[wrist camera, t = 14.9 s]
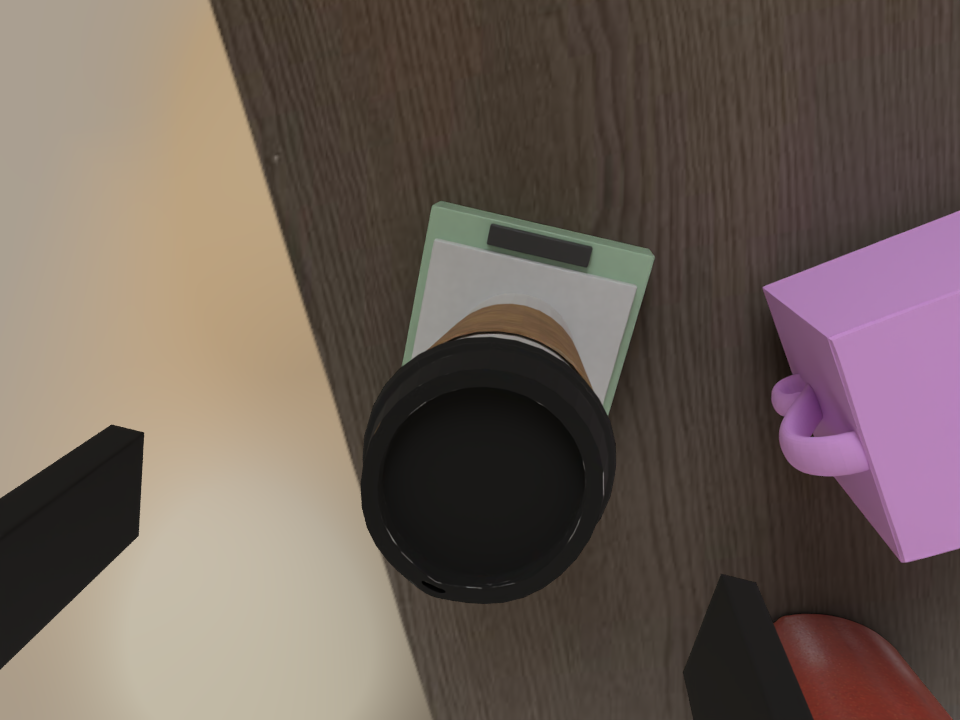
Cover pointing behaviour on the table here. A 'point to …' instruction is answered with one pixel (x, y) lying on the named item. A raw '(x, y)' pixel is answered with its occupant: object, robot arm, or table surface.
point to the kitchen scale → (531, 283)
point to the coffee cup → (488, 456)
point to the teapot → (879, 382)
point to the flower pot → (853, 672)
